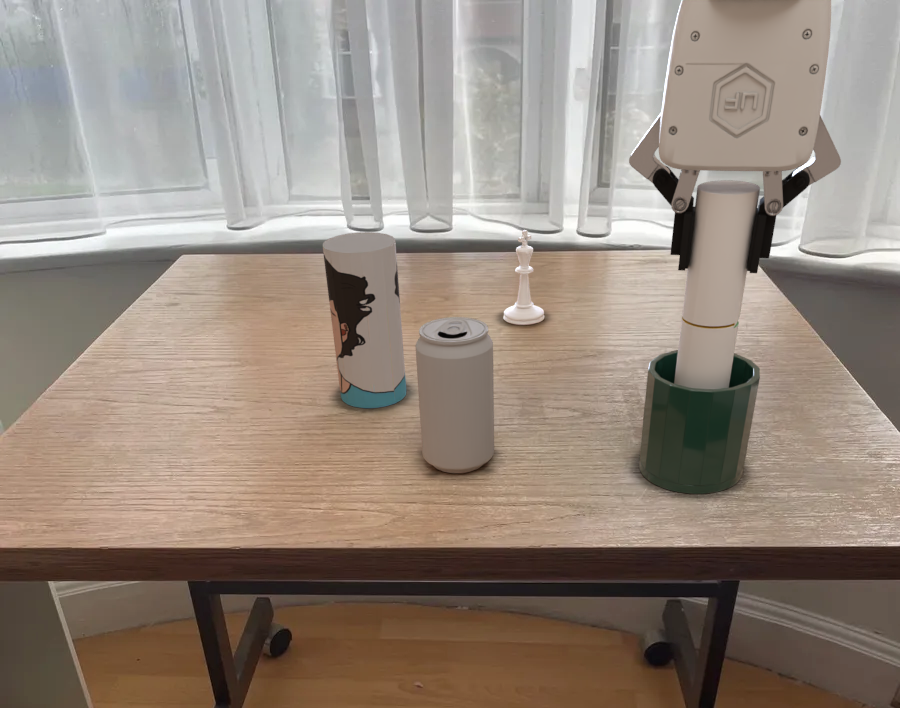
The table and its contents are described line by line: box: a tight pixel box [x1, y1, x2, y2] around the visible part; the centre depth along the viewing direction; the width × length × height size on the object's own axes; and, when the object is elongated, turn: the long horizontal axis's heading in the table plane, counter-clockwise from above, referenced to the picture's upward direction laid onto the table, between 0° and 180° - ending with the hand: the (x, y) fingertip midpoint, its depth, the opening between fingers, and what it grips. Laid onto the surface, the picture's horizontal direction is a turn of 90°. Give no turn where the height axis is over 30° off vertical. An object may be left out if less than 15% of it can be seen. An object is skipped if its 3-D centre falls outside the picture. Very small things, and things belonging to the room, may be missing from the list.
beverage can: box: [414, 316, 495, 474], centre depth 76 cm, size 6×6×12 cm
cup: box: [322, 231, 407, 409], centre depth 87 cm, size 7×7×15 cm
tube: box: [674, 179, 761, 389], centre depth 68 cm, size 4×4×15 cm
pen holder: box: [638, 349, 761, 495], centre depth 74 cm, size 9×9×9 cm
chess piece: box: [502, 229, 545, 326], centre depth 105 cm, size 5×5×10 cm
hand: (717, 263), depth 67 cm, fingers closed on tube, 4 cm apart
